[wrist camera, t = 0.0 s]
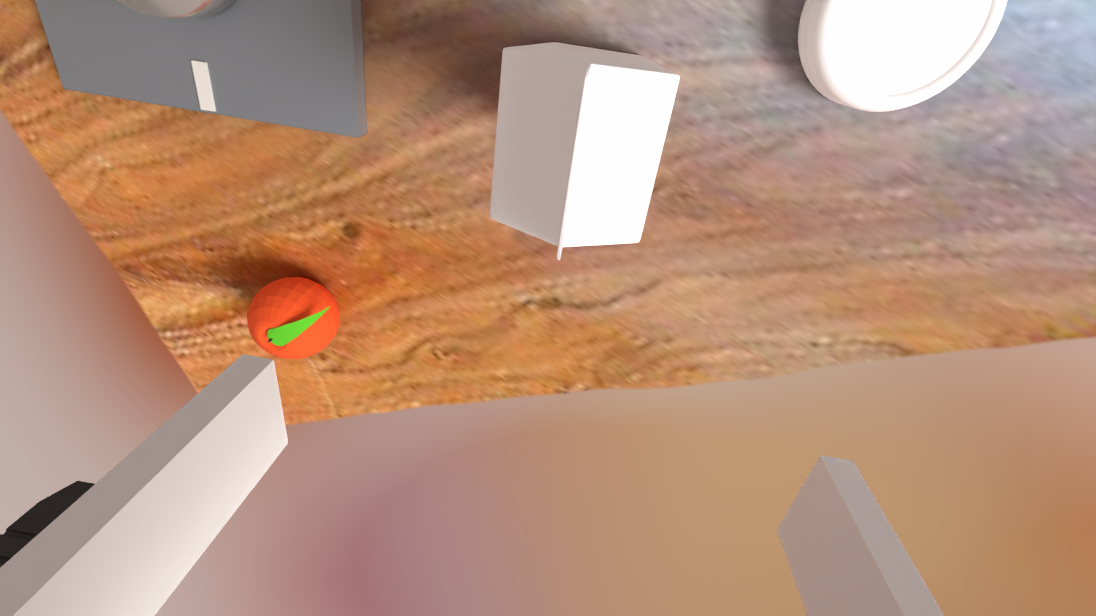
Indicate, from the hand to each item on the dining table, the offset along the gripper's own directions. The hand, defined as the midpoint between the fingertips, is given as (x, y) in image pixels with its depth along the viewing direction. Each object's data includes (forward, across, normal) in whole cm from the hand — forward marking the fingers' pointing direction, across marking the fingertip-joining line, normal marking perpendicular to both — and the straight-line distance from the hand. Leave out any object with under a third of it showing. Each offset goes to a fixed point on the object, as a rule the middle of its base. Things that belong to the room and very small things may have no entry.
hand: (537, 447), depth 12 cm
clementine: (+28, -21, -15) cm, 38 cm away
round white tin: (+28, +17, +12) cm, 35 cm away
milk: (+28, 0, +5) cm, 29 cm away
